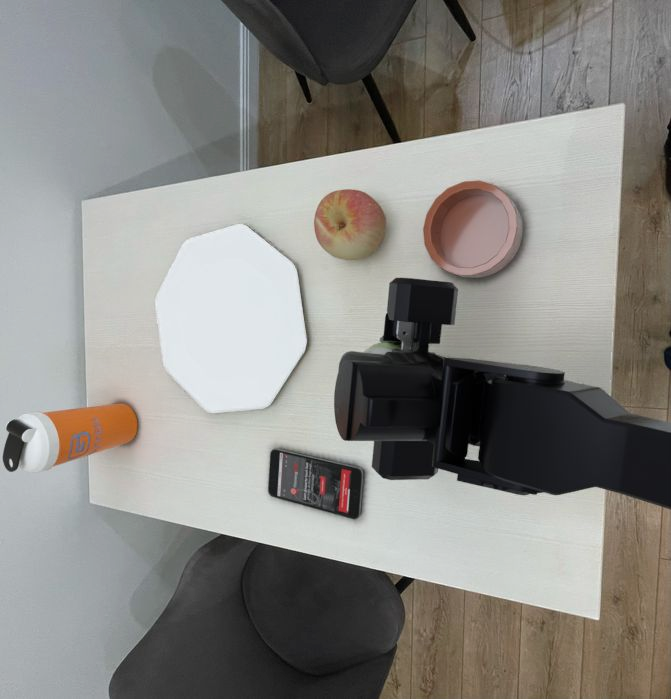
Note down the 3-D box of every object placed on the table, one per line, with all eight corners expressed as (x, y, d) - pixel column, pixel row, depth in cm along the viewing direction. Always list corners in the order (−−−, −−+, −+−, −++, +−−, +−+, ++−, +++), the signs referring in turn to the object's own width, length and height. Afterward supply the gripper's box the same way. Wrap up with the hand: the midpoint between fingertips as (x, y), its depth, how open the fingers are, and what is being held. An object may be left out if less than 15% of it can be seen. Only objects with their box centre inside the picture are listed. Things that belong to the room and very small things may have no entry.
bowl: (533, 194, 62) (528, 186, 58) (509, 286, 64) (502, 284, 60) (445, 183, 67) (435, 174, 63) (425, 269, 68) (414, 266, 64)
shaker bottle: (104, 441, 97) (-9, 469, 80) (107, 393, 96) (-6, 410, 79) (140, 453, 93) (29, 485, 76) (144, 403, 92) (32, 424, 75)
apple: (335, 199, 74) (305, 186, 67) (396, 195, 70) (371, 181, 63) (333, 263, 74) (303, 257, 67) (393, 263, 70) (368, 257, 63)
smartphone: (358, 520, 74) (267, 495, 80) (360, 519, 74) (270, 494, 81) (362, 469, 73) (270, 448, 80) (364, 467, 74) (273, 447, 80)
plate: (320, 402, 76) (315, 403, 75) (176, 416, 89) (169, 417, 88) (293, 210, 77) (287, 208, 75) (153, 251, 89) (146, 250, 88)
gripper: (371, 270, 40) (317, 272, 55) (349, 509, 42) (302, 449, 57) (499, 284, 44) (416, 282, 59) (473, 504, 46) (398, 449, 61)
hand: (381, 365), depth 59 cm, fingers closed on beverage can, 5 cm apart
